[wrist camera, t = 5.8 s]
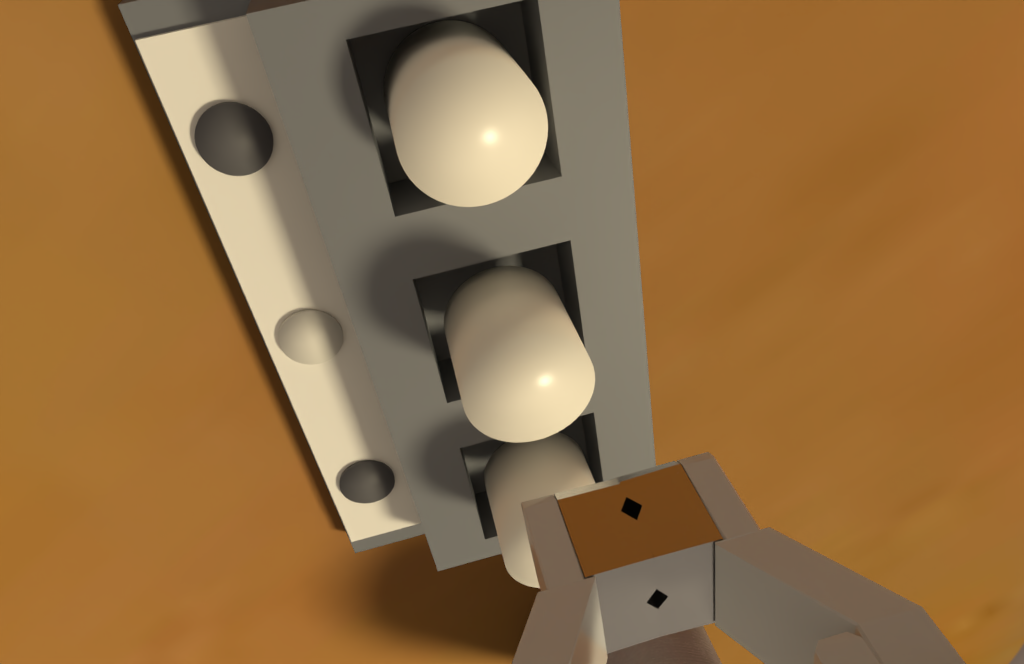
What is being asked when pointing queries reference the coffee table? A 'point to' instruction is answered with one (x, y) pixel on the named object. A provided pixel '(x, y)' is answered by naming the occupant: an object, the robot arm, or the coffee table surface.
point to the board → (404, 236)
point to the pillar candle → (669, 650)
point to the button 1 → (463, 114)
